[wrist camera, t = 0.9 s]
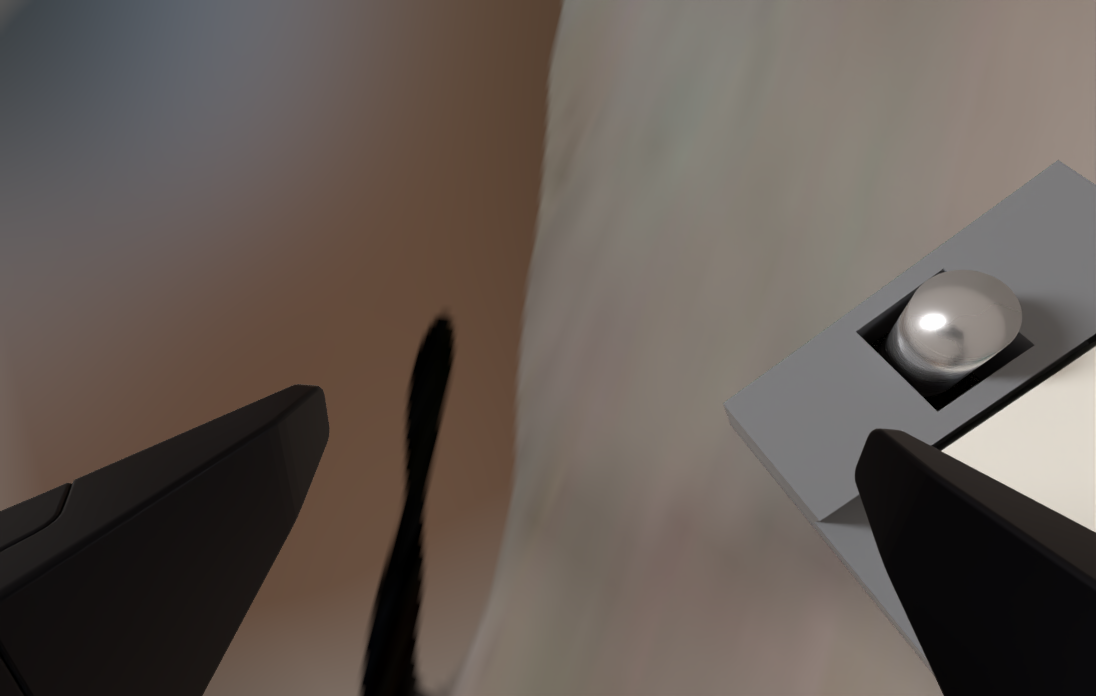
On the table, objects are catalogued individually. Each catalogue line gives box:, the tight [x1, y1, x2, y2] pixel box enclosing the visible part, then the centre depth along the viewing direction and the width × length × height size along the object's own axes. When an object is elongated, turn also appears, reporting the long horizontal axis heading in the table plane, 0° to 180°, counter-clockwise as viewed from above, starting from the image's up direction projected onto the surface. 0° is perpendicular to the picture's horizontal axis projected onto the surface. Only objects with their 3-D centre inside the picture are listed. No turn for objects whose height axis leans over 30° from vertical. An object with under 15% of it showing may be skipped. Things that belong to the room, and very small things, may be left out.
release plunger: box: [878, 270, 1022, 397], centre depth 19 cm, size 3×3×6 cm
